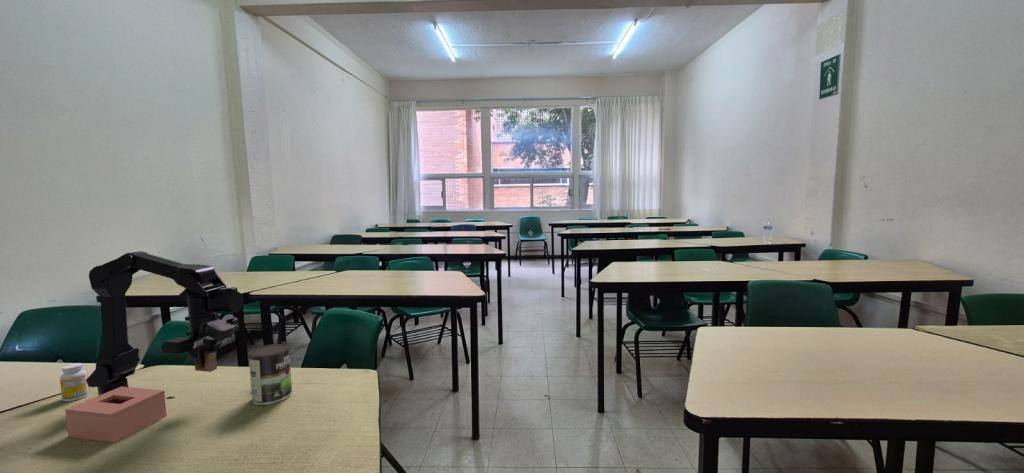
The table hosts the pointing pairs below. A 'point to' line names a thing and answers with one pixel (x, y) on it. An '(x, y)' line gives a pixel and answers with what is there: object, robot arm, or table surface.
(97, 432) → the coin box
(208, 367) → the block
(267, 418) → the table surface
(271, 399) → the coffee can
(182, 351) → the robot arm
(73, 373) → the supplement bottle
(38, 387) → the table surface
